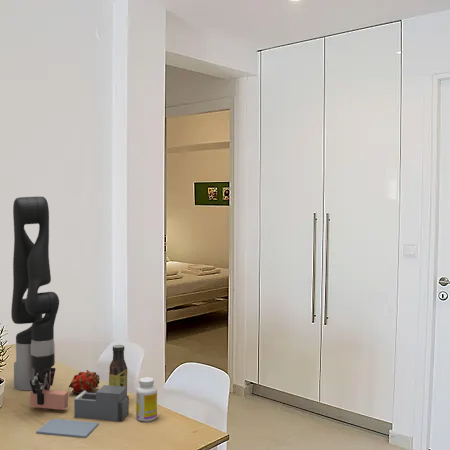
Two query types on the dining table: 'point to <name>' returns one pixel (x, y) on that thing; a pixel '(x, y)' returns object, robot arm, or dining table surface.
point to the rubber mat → (67, 428)
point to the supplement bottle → (146, 400)
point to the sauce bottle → (118, 367)
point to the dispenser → (103, 404)
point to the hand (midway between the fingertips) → (43, 402)
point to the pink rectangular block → (51, 399)
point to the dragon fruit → (84, 382)
